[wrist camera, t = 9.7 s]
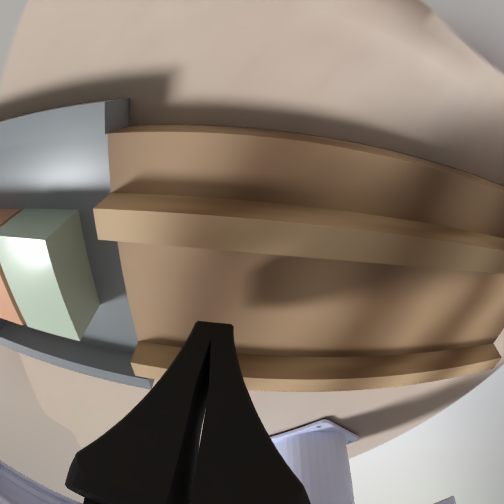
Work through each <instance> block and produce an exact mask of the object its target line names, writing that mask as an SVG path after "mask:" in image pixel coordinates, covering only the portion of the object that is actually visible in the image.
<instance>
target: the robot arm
mask: <svg viewBox="0 0 504 504" xmlns="http://www.w3.org/2000/svg"><path fill="white" fill-rule="evenodd" d="M205 409H206V411H205ZM204 414H205V417H204ZM203 419H204V423H203ZM202 423H203V429H202V435H201V441H200V434H201V428H202ZM358 439H359V437H358V436H357V435H355V434H354V433H352V432H350V431H348V430H346V429H344V428H342V427H340V426H338V425H337V424H335V423H333V422H331V421H329V420H327V419H323V420H320V421H317V422H315V423H312V424H309V425H306V426H303V427H300V428H297V429H294V430H291V431H288V432H285V433H282V434H279V435H275V436H272V437H269V435H268V433H267V431H266V430H265V428H264V426H263V424H262V422H261V420H260V418H259V416H258V414H257V412H256V410H255V407H254V405H253V403H252V401H251V398H250V396H249V393H248V390H247V388H246V385H245V382H244V379H243V376H242V373H241V369H240V365H239V362H238V358H237V353H236V348H235V342H234V326H233V325H232V324H226V323H215V322H205V321H197V322H196V323H195V325H194V327H193V329H192V331H191V333H190V335H189V337H188V338H187V340H186V342H185V343H184V345H183V347H182V348H181V350H180V351H179V353H178V354H177V356H176V357H175V359H174V361H173V362H172V363H171V365H170V366H169V368H168V369H167V370H166V372H165V373H164V374H163V376H162V377H161V378H160V380H159V381H158V382H157V383H156V385H155V386H154V387H153V388H152V389H151V390H150V392H149V393H148V394H147V395H146V396H145V397H144V398H143V399H142V400H141V401H140V402H139V403H138V404H137V405H136V406H135V407H134V408H133V409H132V410H131V411H130V412H129V413H128V414H127V415H126V416H125V417H124V418H123V419H122V420H121V421H119V422H118V423H117V424H116V425H115V426H113V427H112V428H111V429H110V430H108V431H107V432H106V433H105V434H103V435H102V436H101V437H99V438H98V439H97V440H95V441H94V442H92V443H91V444H89V445H88V446H86V447H85V448H83V449H82V450H80V451H79V452H77V453H76V455H75V458H74V459H73V461H72V463H71V466H70V468H69V472H68V475H67V479H66V482H65V485H66V487H67V488H68V489H70V490H72V491H73V492H75V493H77V494H79V495H81V496H83V497H85V498H84V503H83V504H354V497H353V488H352V481H351V473H350V466H349V459H348V453H347V446H346V444H349V443H352V442H354V441H357V440H358ZM199 441H200V446H199ZM198 451H199V452H198ZM0 504H82V503H80V502H77V501H75V500H72V499H70V498H68V497H65V496H63V495H61V494H59V493H57V492H55V491H53V490H51V489H48V488H47V487H45V486H43V485H41V484H39V483H37V482H35V481H33V480H32V479H30V478H28V477H26V476H25V475H23V474H21V473H19V472H18V471H16V470H14V469H13V468H11V467H10V466H8V465H7V464H5V463H4V462H2V461H0ZM434 504H456V503H455V498H454V496H451V497H449V498H447V499H444V500H442V501H440V502H437V503H434Z"/></svg>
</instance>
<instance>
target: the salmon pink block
mask: <svg viewBox="0 0 504 504" xmlns="http://www.w3.org/2000/svg"><path fill="white" fill-rule="evenodd" d="M19 212H20V209H0V227H1V226H3V225H4V224H5V223H6V222H8V221H9V220H10V219H11V218H13V217H14V216H15V215H17V214H18V213H19ZM0 318H2V319H5V320H8V321H11V322H14V323H16V324H19V325H24V324H25V320H24V318H23V316H22V314H21V312H20V310H19V307H18V305H17V303H16V301H15V299H14V296H13V294H12V292H11V289H10V287H9V284H8V282H7V279H6V277H5V274H4V272H3V269H2V266H1V264H0Z"/></svg>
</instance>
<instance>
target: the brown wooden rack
mask: <svg viewBox="0 0 504 504" xmlns="http://www.w3.org/2000/svg"><path fill="white" fill-rule="evenodd" d="M108 156H109V172H110V184H111V193H110V194H109V195H108V196H107V197H106V198H105V199H103V200H102V201H101V202H100V203H99V204H98V205H97V206H95V207H94V208H93V212H94V219H95V225H96V231H97V237H98V240H108V241H117V242H118V249H119V255H120V261H121V266H122V272H123V277H124V282H125V287H126V292H127V296H128V301H129V305H130V310H131V314H132V318H133V322H134V326H135V330H136V334H137V338H138V343H137V346H136V349H135V351H134V354H133V357H132V360H131V362H130V363H131V365H132V368H133V371H134V374H135V376H140V377H145V378H150V379H156V380H160V378H161V377H162V376H163V374H164V373H165V372H166V370H167V369H168V368H169V366H170V365H171V363H172V362H173V361H174V359H175V357H176V356H177V354H178V353H179V351H180V350H181V348H182V347H183V345H184V343H185V342H186V340H187V338H188V337H189V335H190V333H191V331H192V329H193V327H194V325H195V323H196V322H197V321H205V322H215V323H226V324H232V325H233V326H234V342H235V348H236V353H237V358H238V362H239V365H240V369H241V373H242V376H243V379H244V382H245V385H246V388H247V390H254V391H278V392H325V391H349V390H364V389H376V388H387V387H396V386H404V385H411V384H418V383H425V382H431V381H437V380H443V379H448V378H453V377H458V376H463V375H468V374H472V373H476V372H480V371H485V370H488V369H492V368H494V366H495V365H496V364H497V363H498V361H499V360H500V359H501V356H500V354H499V352H498V351H497V349H496V347H495V346H494V344H493V343H494V341H495V340H496V339H497V337H498V336H499V334H500V333H501V331H502V330H503V328H504V187H503V186H501V185H499V184H496V183H493V182H491V181H488V180H486V179H483V178H480V177H478V176H475V175H472V174H469V173H466V172H463V171H460V170H457V169H454V168H451V167H448V166H445V165H442V164H438V163H435V162H432V161H428V160H425V159H421V158H418V157H414V156H410V155H406V154H402V153H398V152H394V151H390V150H386V149H382V148H377V147H373V146H368V145H363V144H358V143H353V142H348V141H343V140H337V139H332V138H326V137H319V136H313V135H306V134H299V133H291V132H283V131H275V130H265V129H254V128H242V127H228V126H208V125H133V126H127V127H124V128H121V129H118V130H116V131H113V132H110V133H108Z"/></svg>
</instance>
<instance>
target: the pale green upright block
mask: <svg viewBox="0 0 504 504" xmlns="http://www.w3.org/2000/svg"><path fill="white" fill-rule="evenodd" d="M0 264H1V266H2V269H3V272H4V274H5V277H6V279H7V282H8V284H9V287H10V289H11V292H12V294H13V296H14V299H15V301H16V303H17V305H18V307H19V310H20V312H21V314H22V316H23V318H24V320H25V322H26V324H27V326H28V327H31V328H34V329H37V330H41V331H44V332H47V333H51V334H54V335H58V336H62V337H66V338H69V339H73V340H77V341H81V339H82V337H83V335H84V333H85V331H86V329H87V327H88V326H89V324H90V322H91V320H92V318H93V317H94V315H95V313H96V311H97V310H98V308H99V306H100V301H99V298H98V295H97V291H96V287H95V284H94V280H93V276H92V272H91V268H90V264H89V260H88V255H87V251H86V246H85V242H84V237H83V232H82V226H81V221H80V215H79V210H72V209H32V208H25V209H23V210H22V211H21V212H19V213H18V214H17V215H15V216H14V217H13V218H11V219H10V220H9V221H8V222H6V223H5V224H4V225H3V226H1V227H0Z"/></svg>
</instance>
